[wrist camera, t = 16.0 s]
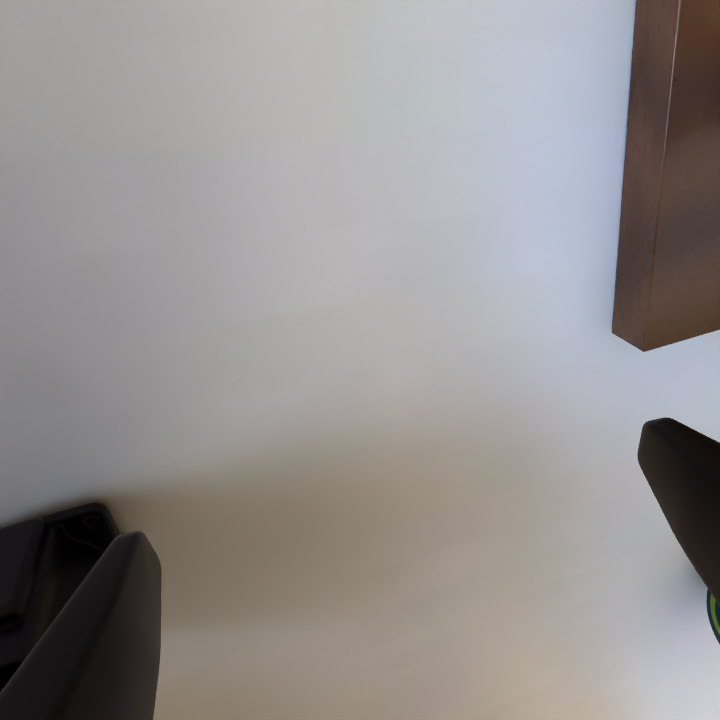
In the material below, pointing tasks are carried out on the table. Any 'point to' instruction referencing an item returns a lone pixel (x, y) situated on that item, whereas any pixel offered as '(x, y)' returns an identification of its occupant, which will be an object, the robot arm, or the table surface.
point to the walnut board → (671, 178)
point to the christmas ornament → (713, 614)
